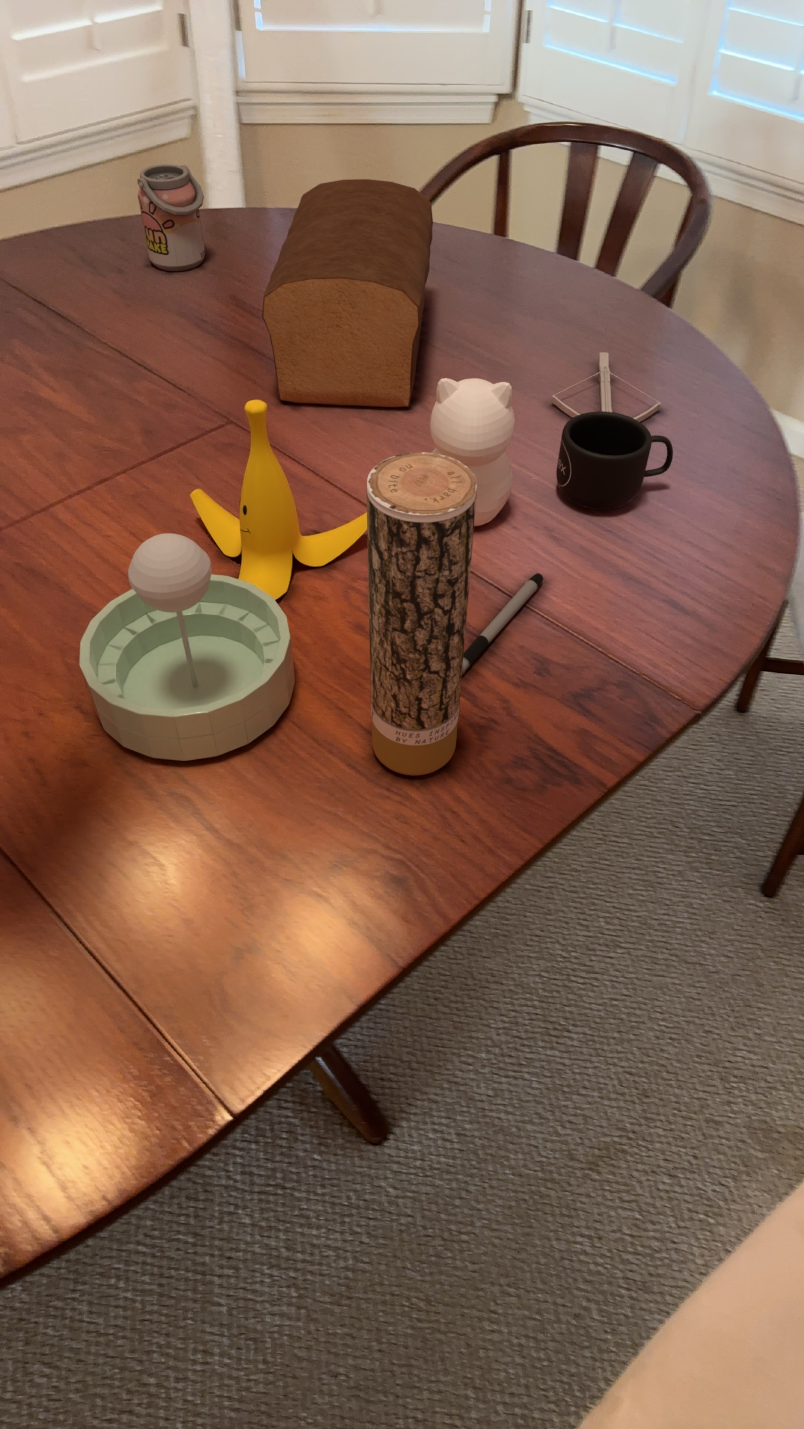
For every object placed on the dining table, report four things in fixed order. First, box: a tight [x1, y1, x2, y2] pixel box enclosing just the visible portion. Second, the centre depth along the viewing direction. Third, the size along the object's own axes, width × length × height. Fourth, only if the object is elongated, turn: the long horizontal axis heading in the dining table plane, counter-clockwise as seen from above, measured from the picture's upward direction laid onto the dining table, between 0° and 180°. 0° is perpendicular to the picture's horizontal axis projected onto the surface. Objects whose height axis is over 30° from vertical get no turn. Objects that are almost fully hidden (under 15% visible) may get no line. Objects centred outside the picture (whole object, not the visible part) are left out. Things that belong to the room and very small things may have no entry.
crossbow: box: [551, 351, 661, 423], centre depth 113 cm, size 16×13×2 cm
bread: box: [261, 178, 434, 409], centre depth 115 cm, size 18×30×16 cm, turn 176°
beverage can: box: [136, 163, 206, 272], centre depth 134 cm, size 9×8×12 cm
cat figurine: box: [429, 377, 516, 527], centre depth 93 cm, size 9×12×15 cm
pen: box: [462, 572, 544, 676], centre depth 85 cm, size 1×16×1 cm, turn 147°
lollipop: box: [127, 532, 213, 687], centre depth 74 cm, size 6×6×15 cm
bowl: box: [78, 573, 296, 762], centre depth 78 cm, size 17×17×6 cm
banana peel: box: [189, 399, 367, 601], centre depth 86 cm, size 17×19×17 cm
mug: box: [555, 410, 674, 510], centre depth 98 cm, size 12×9×7 cm
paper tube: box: [366, 451, 477, 776], centre depth 67 cm, size 7×7×25 cm
